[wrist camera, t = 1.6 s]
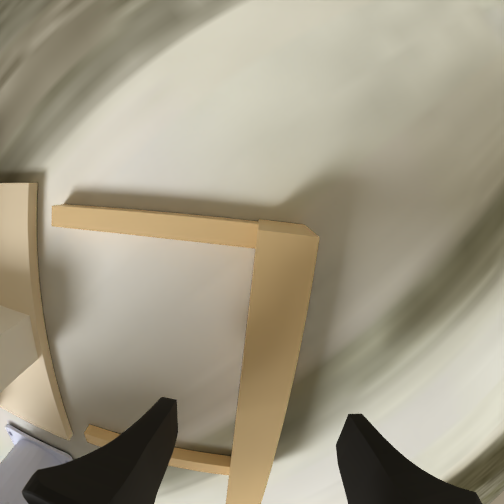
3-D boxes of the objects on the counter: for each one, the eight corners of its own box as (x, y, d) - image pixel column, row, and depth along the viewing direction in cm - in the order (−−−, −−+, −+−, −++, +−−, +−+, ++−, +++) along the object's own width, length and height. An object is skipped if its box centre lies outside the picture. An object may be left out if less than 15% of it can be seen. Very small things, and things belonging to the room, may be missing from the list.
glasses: (92, 434, 17) (73, 465, 13) (63, 202, 13) (19, 208, 10) (261, 468, 17) (261, 507, 13) (306, 224, 13) (322, 237, 10)
